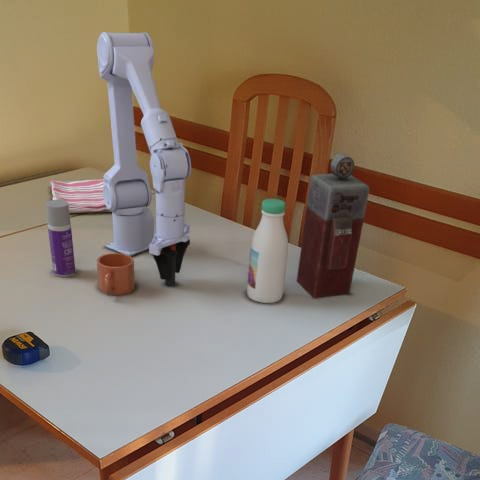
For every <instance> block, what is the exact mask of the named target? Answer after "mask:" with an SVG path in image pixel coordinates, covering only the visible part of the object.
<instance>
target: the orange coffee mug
mask: <svg viewBox="0 0 480 480" xmlns="http://www.w3.org/2000/svg"><path fill="white" fill-rule="evenodd" d="M96 268H97V281H98V289H99V291H100V292H101V293H103V294H105V295H106V296H107V297H109V296H122V295H123V296H124V295H127V294H129V293H132V292H133V291H134V290H135V288H136V287H135V285H136V280H135V260H134V258H133V257H132V256H129V255H126V254H123V253H120V252H110V253H105V254H102V255H100V256H98V257H97V259H96Z"/></svg>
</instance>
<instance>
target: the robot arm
mask: <svg viewBox="0 0 480 480" xmlns="http://www.w3.org/2000/svg"><path fill="white" fill-rule="evenodd" d="M154 46H155V45H154V43H153V40H152V38H151V36H150V35H149V34H148V33H147V32H143V31H142V32H138V33H137V32H106V31H102V32H101V33H100V35H99V37H98V40H97V44H96V54H97V66H98V72H99V77H100V79H101V80H104V81H106V85H107V95H108V105H109V117H110V127H111V138H112V139H111V141H112V151H113V162H114V164H113V165H112V167H110V168H109V169H108V170H107V171H106V172H105V173H104V174H103V178H102V179H103V199H104V202H105V205H106V207H107V208H108V209H109V210H110V211H112V212H111V216H112V217H111V218H112V234H113V241H112V242H110V243H107V244H106V245H105V246H106V248H108V249H111V250H112V251H116V252H117V253H121V254H126V255H129V256H131V257H132V256H134V255H138V254H140V253H141V252H145V251H147V250H149V255H151V256H152V257H153V259H154V261H155V263H156V267H157V271H158V273H159V277H160V280H164V281H165V280H167V281H170V280H171V277H172V269H173V263H174V259H175V274H179V273H180V272H181V268H182V264H183V261H184V257H185V254H186V252H187V249H188V247H189V245H190V244H191V239H190V236H189V235H187V234H189V233H190V225H191V224H190V223H188V222H185V211H186V209H185V207H186V206H185V202H186V201H185V199H186V180H188V179H189V177H190V176H191V173H192V172H191V171H192V163H191V162H192V161H191V157H190V154H189V151H188V149H187V148H186V146H185V147H184V145H183V143H182V142H181V141H179V140H178V138H177V135H176V131H175V128H174V126H173V122H172V119H171V117H170V115H169V113H168V112H167V111H165V110H163V109H162V108H161V104H160V99H159V95H158V92H157V87H156V83H155V79H154V75H153V68H154V63H155V49H154V48H155V47H154ZM133 94H134V96H135V98H136V101H137V104H138V105H139V108H140V110H141V112H142V114H143V116H142V119H141V122H140V126H141V129H142V132H143V136H144V138H145V141H146V145H147V147H148V150H149V153H150V158H149V159H150V160H149V170H150V172H151V173H150V174H151V178H152V186H153V189H154V190H155V219H154V215H153V212H152V210H151V209H150V208H149V206H150V205H151V203H152V200H153V199H152V198H153V197H152V196H153V193H152V188H151V184H150V181H149V180H150V179H149V174H148V173H147V172H146V170H144V169H142V168H141V167H140V166H139V165H138V156H137V145H136V144H137V141H136V130H135V128H136V127H135V118H134V117H135V115H134V114H135V113H134V101H133V99H134V98H133ZM172 244H176V251H175V250H170V248H169V245H172Z"/></svg>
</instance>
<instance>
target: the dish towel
mask: <svg viewBox="0 0 480 480" xmlns="http://www.w3.org/2000/svg"><path fill="white" fill-rule="evenodd" d="M49 183H50V187H51V188H50V189H51V195H52V200H63V201H66V202H68V206H69V214H84V213H109V212H111V213H112V211H110V210H109V209H108V208H107V207H106V205H105V202H104V199H103V178H102V179H86V180H73V181H72V180H71V181H70V180H69V181H61V180H50V181H49Z"/></svg>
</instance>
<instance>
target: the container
mask: <svg viewBox="0 0 480 480" xmlns="http://www.w3.org/2000/svg"><path fill="white" fill-rule="evenodd" d="M45 212H46V213H45V214H46V220H47V221H46V222H47V223H46V224H47V233H48V242H49V249H50V257H51V266H52V272H53V273H52V274H53V275H54V276H55V277H58V278H69V277H72V276H74V275H75V274H76V262H75V253H74V243H73V233H72V222H71V215H70V214H71V213H69V206H68V202H66V201H63V200H53V199H51V200H47V201H46V202H45Z"/></svg>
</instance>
